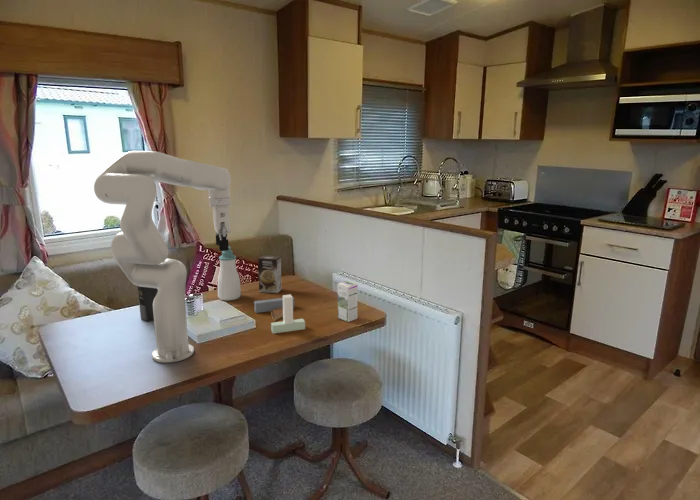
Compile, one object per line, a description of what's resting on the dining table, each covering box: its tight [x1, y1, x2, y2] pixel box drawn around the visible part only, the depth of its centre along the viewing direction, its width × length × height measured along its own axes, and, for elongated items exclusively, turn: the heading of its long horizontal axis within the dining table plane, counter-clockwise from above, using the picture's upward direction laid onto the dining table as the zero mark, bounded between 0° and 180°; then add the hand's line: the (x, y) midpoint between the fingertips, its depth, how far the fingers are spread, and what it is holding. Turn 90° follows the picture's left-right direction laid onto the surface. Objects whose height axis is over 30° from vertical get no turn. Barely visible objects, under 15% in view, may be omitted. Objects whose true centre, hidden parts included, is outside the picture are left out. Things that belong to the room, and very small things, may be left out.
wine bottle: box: [137, 286, 158, 322], centre depth 172 cm, size 6×6×30 cm
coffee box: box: [257, 254, 282, 294], centre depth 208 cm, size 9×6×16 cm
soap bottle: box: [217, 245, 242, 301], centre depth 198 cm, size 10×10×23 cm
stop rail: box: [253, 297, 295, 314], centre depth 186 cm, size 3×16×4 cm, turn 113°
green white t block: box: [270, 293, 306, 335], centre depth 165 cm, size 12×3×13 cm, turn 112°
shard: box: [269, 308, 283, 322], centre depth 180 cm, size 11×8×2 cm
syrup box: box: [337, 280, 359, 323], centre depth 176 cm, size 6×6×14 cm
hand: (222, 247), depth 170 cm, fingers open, 9 cm apart
